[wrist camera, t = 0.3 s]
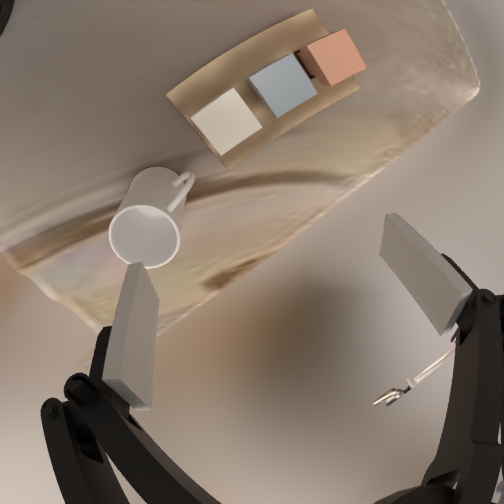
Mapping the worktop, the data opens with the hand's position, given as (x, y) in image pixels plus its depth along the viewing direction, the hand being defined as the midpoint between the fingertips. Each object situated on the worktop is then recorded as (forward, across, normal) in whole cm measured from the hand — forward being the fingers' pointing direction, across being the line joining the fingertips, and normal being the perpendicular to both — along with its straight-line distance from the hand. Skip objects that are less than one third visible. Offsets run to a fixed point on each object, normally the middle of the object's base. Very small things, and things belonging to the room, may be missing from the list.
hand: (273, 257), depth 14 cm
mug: (+26, -10, -4) cm, 28 cm away
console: (+26, +5, +8) cm, 28 cm away
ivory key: (+22, 0, +5) cm, 22 cm away
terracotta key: (+22, +11, +11) cm, 27 cm away
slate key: (+22, +5, +8) cm, 24 cm away
